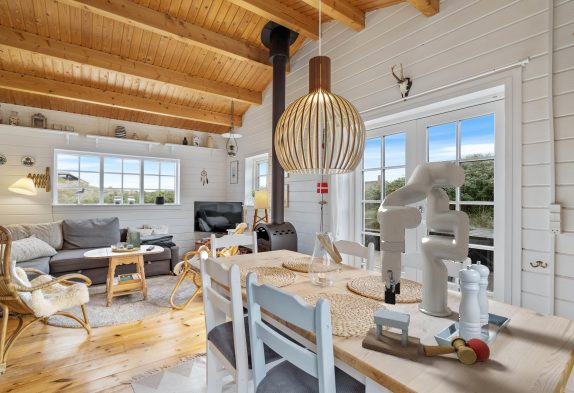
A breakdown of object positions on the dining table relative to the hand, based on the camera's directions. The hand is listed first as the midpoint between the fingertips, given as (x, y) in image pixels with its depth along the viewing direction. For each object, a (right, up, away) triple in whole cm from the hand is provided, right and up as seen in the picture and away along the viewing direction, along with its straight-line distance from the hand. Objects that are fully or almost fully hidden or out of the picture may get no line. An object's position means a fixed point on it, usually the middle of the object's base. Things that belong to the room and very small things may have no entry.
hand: (392, 298), depth 94 cm
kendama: (+16, -15, -8) cm, 23 cm away
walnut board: (-1, -15, 0) cm, 15 cm away
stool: (0, -13, 0) cm, 13 cm away
